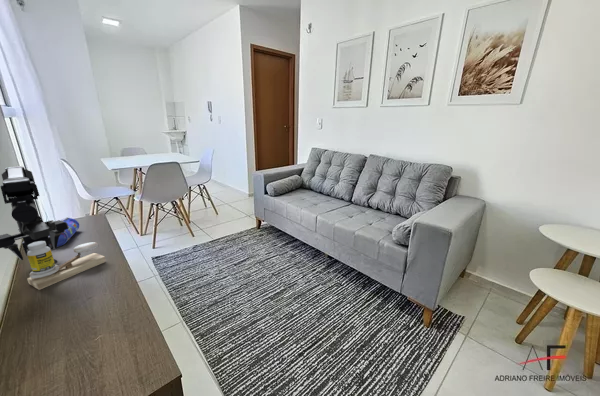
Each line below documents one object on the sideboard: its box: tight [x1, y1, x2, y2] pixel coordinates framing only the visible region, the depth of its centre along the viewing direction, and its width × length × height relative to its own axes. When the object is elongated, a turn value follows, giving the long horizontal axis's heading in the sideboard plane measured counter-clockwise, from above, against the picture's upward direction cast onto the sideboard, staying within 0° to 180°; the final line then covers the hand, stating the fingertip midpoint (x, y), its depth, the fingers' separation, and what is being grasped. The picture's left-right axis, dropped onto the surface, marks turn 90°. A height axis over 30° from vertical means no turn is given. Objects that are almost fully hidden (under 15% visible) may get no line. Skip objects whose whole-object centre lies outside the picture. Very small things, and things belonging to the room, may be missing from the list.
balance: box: [27, 241, 107, 291], centre depth 101 cm, size 8×22×8 cm, turn 155°
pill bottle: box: [27, 241, 56, 274], centre depth 93 cm, size 6×6×11 cm
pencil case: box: [49, 217, 80, 248], centre depth 130 cm, size 22×9×10 cm, turn 27°
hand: (39, 254), depth 93 cm, fingers open, 9 cm apart
